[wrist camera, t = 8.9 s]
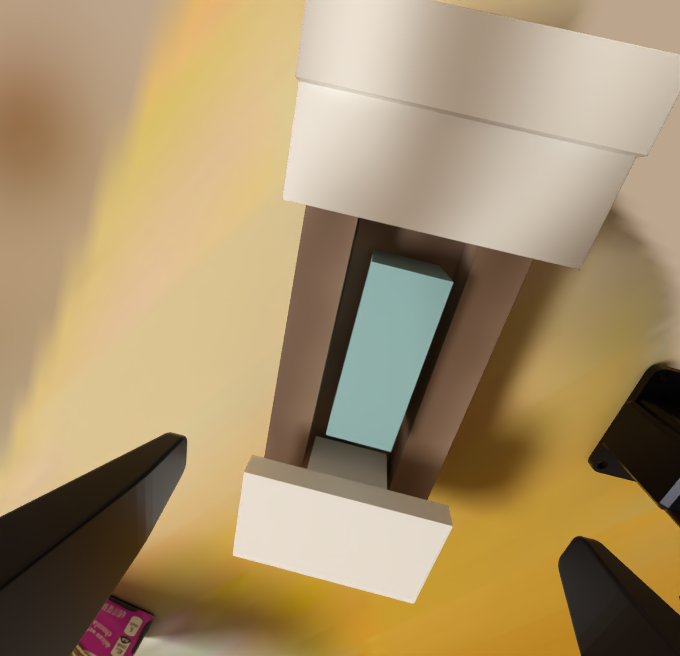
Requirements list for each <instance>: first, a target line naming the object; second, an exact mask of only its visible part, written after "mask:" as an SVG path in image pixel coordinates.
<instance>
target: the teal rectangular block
mask: <svg viewBox="0 0 680 656" xmlns="http://www.w3.org/2000/svg"><path fill="white" fill-rule="evenodd" d="M452 285H453V281H452V280H451V279H450V277H449V276H448V275H447V274H446V272H445V271H444V270H443V269H442V268H441V266H439V265H435V264H431V263H427V262H423V261H419V260H415V259H411V258H407V257H403V256H399V255H395V254H391V253H387V252H383V251H379V250H375V249H374V250H373V254H372V258H371V261H370V265H369V269H368V273H367V276H366V280H365V284H364V288H363V292H362V295H361V299H360V303H359V307H358V311H357V314H356V318H355V322H354V326H353V329H352V333H351V337H350V341H349V345H348V348H347V352H346V356H345V360H344V364H343V367H342V371H341V375H340V379H339V383H338V386H337V390H336V394H335V398H334V402H333V406H332V410H331V415H330V419H329V423H328V427H327V432H326V435H329V436H332V437H336V438H340V439H344V440H347V441H351V442H355V443H359V444H363V445H366V446H370V447H374V448H378V449H381V450H385V451H389V452H391V450H392V447H393V444H394V442H395V439H396V436H397V434H398V431H399V428H400V425H401V423H402V420H403V417H404V415H405V412H406V409H407V407H408V404H409V401H410V398H411V396H412V393H413V390H414V388H415V385H416V382H417V380H418V377H419V374H420V371H421V369H422V366H423V363H424V361H425V358H426V355H427V353H428V350H429V347H430V344H431V342H432V339H433V336H434V334H435V331H436V328H437V326H438V323H439V320H440V317H441V315H442V312H443V309H444V307H445V304H446V301H447V299H448V296H449V293H450V290H451V288H452Z"/></svg>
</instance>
